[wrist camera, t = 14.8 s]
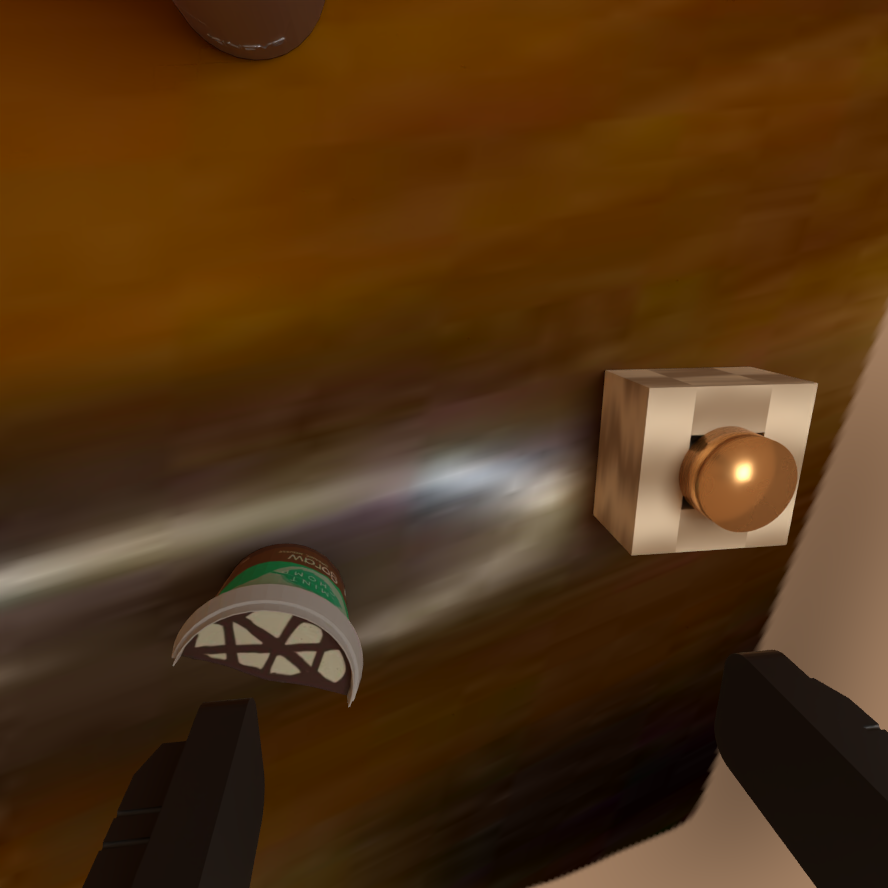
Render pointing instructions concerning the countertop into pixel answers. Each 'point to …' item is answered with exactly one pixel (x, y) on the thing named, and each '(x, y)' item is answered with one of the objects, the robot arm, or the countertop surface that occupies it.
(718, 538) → the birch block
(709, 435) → the copper pin
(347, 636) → the food container
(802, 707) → the robot arm
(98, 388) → the countertop surface
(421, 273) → the countertop surface
